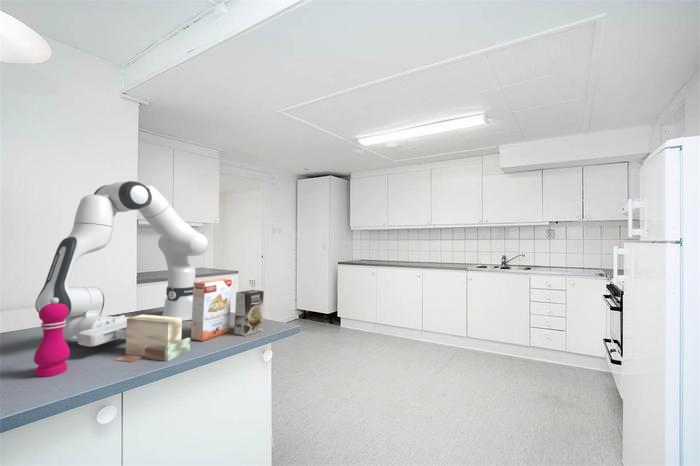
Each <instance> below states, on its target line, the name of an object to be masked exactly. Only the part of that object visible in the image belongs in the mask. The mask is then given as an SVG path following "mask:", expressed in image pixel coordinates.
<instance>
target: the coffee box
mask: <svg viewBox="0 0 700 466" xmlns="http://www.w3.org/2000/svg"><path fill="white" fill-rule="evenodd" d="M264 292H265V291H264V290H259V289H258V290H256V289H255V290H254V289H250V290H244V291H243V290H242V291H237V292H236V293H235V307H234V308H235V310H234V311H235V313H234V332H233V334H235V335H238V336H243V337H248V336H250V334H251V335H254V334H257V333H260V332H259V331H261V332H263V321H264V320H263V317H264ZM256 332H257V333H256ZM253 333H254V334H253ZM247 335H248V336H247Z"/></svg>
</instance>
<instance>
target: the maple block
mask: <svg viewBox="0 0 700 466" xmlns="http://www.w3.org/2000/svg"><path fill="white" fill-rule="evenodd" d="M130 317H131V318H127V330H126V337H125V355H134V356H143V357H145V348H147V347H148V348H157V349H165V347H167V346H169V345H172V344H174V343H176V342H179V341H181V340H182V335H183V333H182V331H183V330H182V329H183V327H182V326H183V321H182V318H179V317H168V316H162V315H154V314H143V313H142V314H138V315H135V316H130Z"/></svg>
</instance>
